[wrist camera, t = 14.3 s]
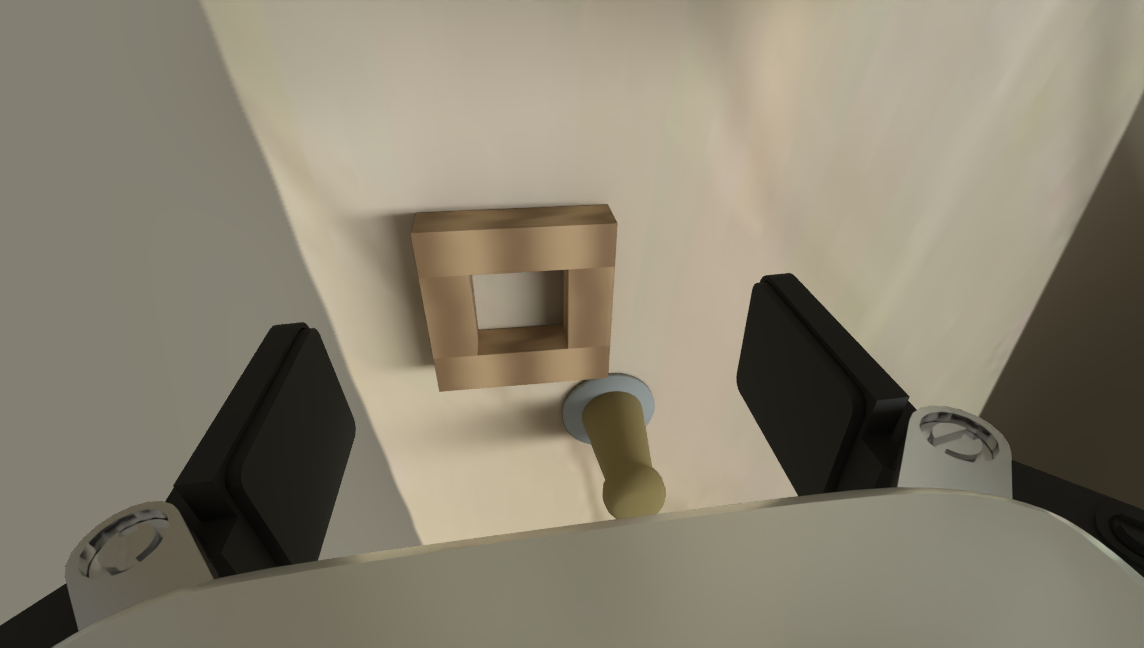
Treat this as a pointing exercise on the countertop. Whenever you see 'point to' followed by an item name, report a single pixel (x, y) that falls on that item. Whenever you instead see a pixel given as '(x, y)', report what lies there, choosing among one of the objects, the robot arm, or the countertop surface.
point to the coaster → (597, 387)
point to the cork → (623, 455)
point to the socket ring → (513, 245)
